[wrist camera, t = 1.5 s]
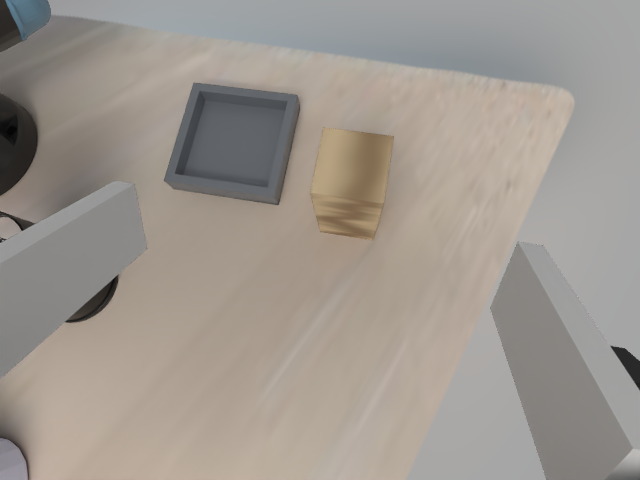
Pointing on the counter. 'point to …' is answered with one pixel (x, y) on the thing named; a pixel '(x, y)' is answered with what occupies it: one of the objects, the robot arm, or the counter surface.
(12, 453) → the soap bottle
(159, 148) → the counter surface
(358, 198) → the oak block
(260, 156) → the slate tray
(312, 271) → the counter surface
